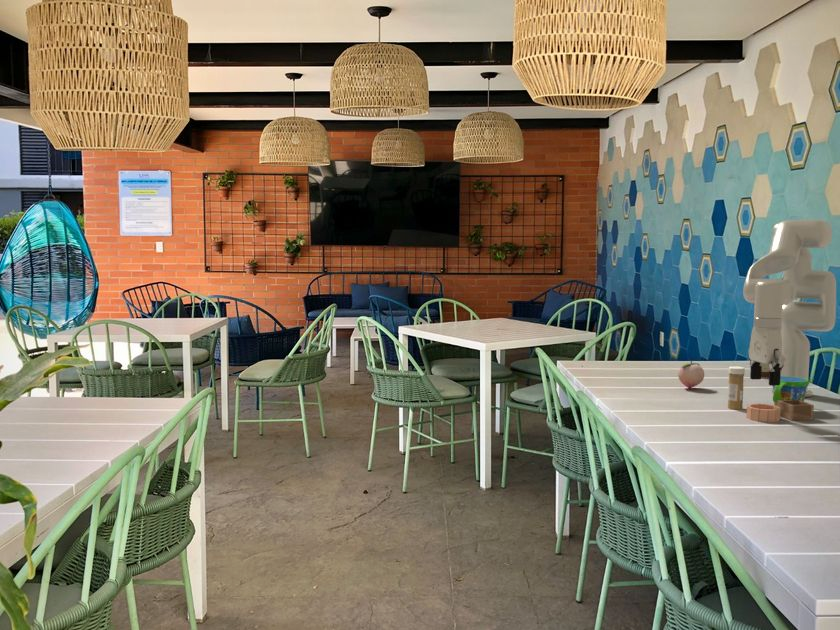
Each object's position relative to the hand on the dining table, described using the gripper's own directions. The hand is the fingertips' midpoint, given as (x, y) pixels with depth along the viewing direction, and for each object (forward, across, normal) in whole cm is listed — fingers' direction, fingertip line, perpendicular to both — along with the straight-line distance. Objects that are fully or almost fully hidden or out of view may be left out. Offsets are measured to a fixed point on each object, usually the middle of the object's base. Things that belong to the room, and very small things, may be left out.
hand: (764, 382), depth 238 cm
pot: (+11, 0, 0) cm, 11 cm away
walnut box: (+11, 0, +10) cm, 15 cm away
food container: (+12, -69, +42) cm, 82 cm away
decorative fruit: (+12, -49, +2) cm, 50 cm away
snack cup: (+12, -11, +15) cm, 22 cm away
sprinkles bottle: (+12, -14, -1) cm, 18 cm away
